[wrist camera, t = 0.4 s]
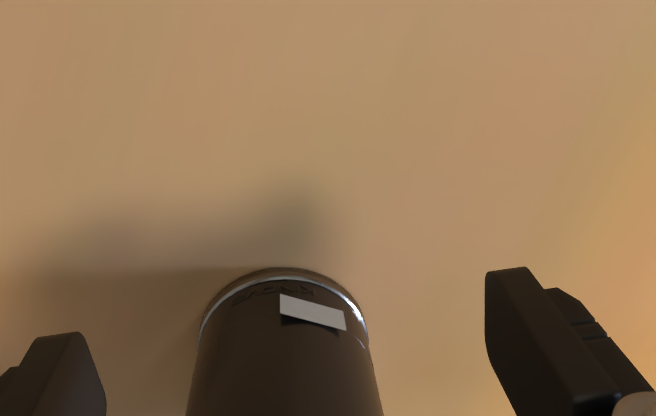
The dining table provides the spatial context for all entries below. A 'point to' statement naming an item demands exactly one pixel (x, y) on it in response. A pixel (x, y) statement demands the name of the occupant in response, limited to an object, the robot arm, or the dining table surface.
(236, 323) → the robot arm
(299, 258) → the dining table surface
